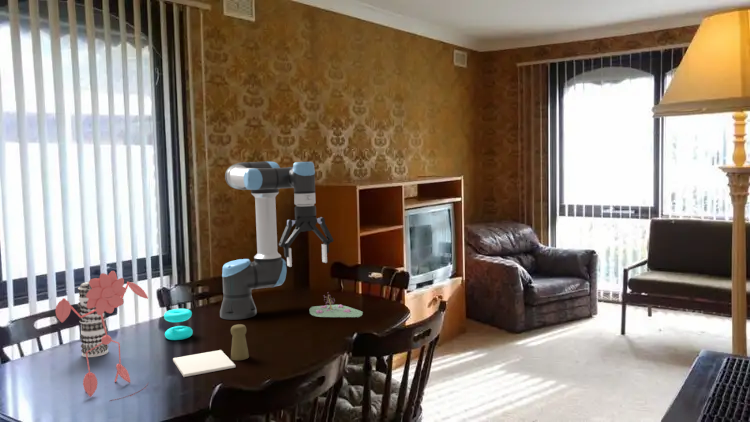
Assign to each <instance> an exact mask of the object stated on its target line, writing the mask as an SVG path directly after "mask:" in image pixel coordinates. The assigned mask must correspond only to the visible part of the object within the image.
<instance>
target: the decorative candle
mask: <svg viewBox="0 0 750 422" xmlns="http://www.w3.org/2000/svg"><path fill="white" fill-rule="evenodd" d="M77 289H78V295H79V296H78V301H79V302H78V303H77V305H76V306H77V307H78V308H77V312H78V313H79V314H80V315H81V316H83V315H85V314H87V313H89V312H91V311H93V310H95V309H96V306H95V307H93V308H91V309H88V308H87V301H88V299H89V298H86V294H87V293H88V291H89V290H91V289H92V288H91V286H90V285H89V281H84V282H82V283H81V284H80V286H79V287H77ZM106 313H107V312H106V311H104V313H103V314H102V315H103V319H104V323H105V324H106V320H107V316H106ZM78 321H79V323H80V324H81V325H80V327H81V330H80V333H81V335H80V336H79V337H80V338H81V339H80V342H81V343H82V344H81V345H80V348H81V350H80V351H81V356H82V357H84V358H86V352H87V351H89V350H90V349H92V348H94V347H95V346H97V345H99V344H100V343H102V342H101V339H102V337H103V336H105V335H106V334H105V330H104V327H103V324H102V320H101V315H98V314H97V311H95V312H93V313H91V314H89V315H87V316H85V317H83V318H81V317H79V319H78ZM108 353H109V345H108V344H107V345H105V344H101V345H99V346H98V347H96V348H94V349H93V350H91V351H89V352H88V353H87V355H88V358H97V357H100V356H103V355H106V354H108Z"/></svg>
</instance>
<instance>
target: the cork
mask: <svg viewBox="0 0 750 422" xmlns="http://www.w3.org/2000/svg"><path fill="white" fill-rule="evenodd" d="M230 334H231V335H232V339H231V348H230V349H231V350H230V360H231V361H244V360H247V359H248V358H249V357H250V355H249V349H248V343H247V338H246V334H247V327H246V325H245V324H241V323H240V324H239V323H238V324H234V325H232V326H231V327H230Z"/></svg>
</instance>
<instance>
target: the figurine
mask: <svg viewBox="0 0 750 422" xmlns="http://www.w3.org/2000/svg"><path fill="white" fill-rule="evenodd" d="M88 282H89V285H90V286H91V288H92V289H91V290H89V291H88V293H87V294H86V298H89V299H88V301H87V308H88V309H91V308H93V307H95V306H96V309H95V310H93V311H91V312H89V313H87V314H85V315H83V316H81V315H80V314H79V313H80V312H79V311H78V310H77V309H75V308H74V307H73V305H71V304H70V301H68V299H66V298H62V300H60V301H59V302H58V303H57V304H56V306H55V317H56V318H57V319H58V320H59V322H61V323H64V322H65V321H66V320H67V319H68V317H69V316H70V314H71V311H73V312H74V314H76V315H77V317H79V318H80V317H81V318H83V317H85V316H87V315H89V314H91V313H93V312H95V311H97V314H98V315H101V320H102V324H103V327H104V330H105V334H106V335H105V336H103V337H102V339H101V342H102V343H100V344H99V345H101V344H105V345H107V346H108V345H109V344H111V342H112V343H115V344H118V359H119V360H118V361H119V362H118V363H116V366H115V369H116V375H115V379H114V383H116V382H117V380H118V378H119V377H120V378H121V379H123V380H124V381H125V382H127V383H131V378H130V374H129V371H128V370H127V368H126V367H125V366H123V365H122V361H121V345H120V344H121V343H120V342H119V341H116V340H113V339H112V336H110V335H108V332H107V326H106V322H105V323H104V319H103V315H102V314H103V313H104V311H106V313H107V314H112V313H113V312H114V310H115V308H119V307H121V306H123V304H124V296H125V294H126V293H127V290H128V287H129V288H130V289H131V291H132V292H133V293H134V294H135V295H137V296H139V297H140V298H144V299H147V300H148V299H149V297H148V295H147V293H146V292H145V290H143V288H142V287H141V286H139V285H138V284H136V283H135V282H131V281H126V286H124V285H125V284H124V283H125V279H124V277H120V278H118V277H117V273H116V272H115V270H111V271H110V272H109V273H108V274H106V273H104V272H103V273H100V275H99V277H98V278H97V277H95V278H90V279H89V280H88ZM104 314H105V313H104ZM99 345H97V346H95V347H94V348H96V347H98V346H99ZM94 348H92V349H90V350H89V351H91V350H93V349H94ZM89 351H87V352H86V357H85V358H86V362H87V370H88V372H87V373H85V375H84V376H83V377H84V378H83V381H82V382H83V383H82V385H83V388H84V391H85V393H86V394H87V395H88V396H89V397H90V398H91V397H92V396H94V393H95V392H96V390H97V388H98V379H97V376H96V374H95V373H93V372H92V371H91V368H90V362H89V357H88V355H87V353H88V352H89ZM148 384H149V383H147V384H146V385H145V386H144V387H143V388H142V389H140V390H138V391H137V392H136V391H135V392H134V393H131V394H129V395H126V396H123V397H119V398H114V399H110V400H109V402H111V401H116V400H119V399H124V398H126V397H127V398H128V397H129V396H130V397H132V396H133V395H135V394H137V393H139V392H141V391H142V390H144V389H146V387H147V386H148Z"/></svg>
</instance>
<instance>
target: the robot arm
mask: <svg viewBox="0 0 750 422" xmlns="http://www.w3.org/2000/svg"><path fill="white" fill-rule="evenodd" d="M224 179H225V182H226V184H227V185H228V186H229V187H230V188H233V189H235V190H240V191H241V190H242V191H245V190H246V191H250V194H251V195H252V196H253V197H254V201H255V206H254V207H255V227H256V251H257V253H256V254H255V255H254V256H253V261H251V260H250V259H249V258H243V259H242V258H239V259H236V260H231V261H228V262H225V263H224V264H223V266H222V270H221V272H222V274H221V277H222V293H223V300H222V302H221V307H220V309H219V318H221V319H223V320H230V321H232V320H235V321H237V320H245V319H249V318H253V317H255V316H257V313H258V312H257V307H256V304H255V301H254V299H253V296H252V290H257V289H265V288H266V289H267V288H275V287H279V286H282V285H283V284H284V283H285V281H286V277H287V269H288V268H287V267H289V268H291V267H292V266H293V264H292V263H293V258H292V257H293V256H292V248H291V247H290V246H291V245H292V244H293V242H294V241H295V239H296V238H297V237H298V236H299V234H300V233H301V232H311V231H312V232H313V233H314V234H315V235H316V236H317V237H318V238H319V239H320V241H321V242H322V243H321V262H322V263H325V264H327V263H328V253H329V252H330V248H329V247H330V244H331V243H333V242H334V238H333V236H332V234H331V232H330V230H329V228H328V225H327V224H326V220H325V219H326V218H325V217H322V216H319V217H318V218H317V207H316V205H315V204H316V171H315V163H314V162H313V161H295V162H294V163H293V165H292V166H289V167H280V165H279V164H278V163H277V162H275V161H266V160H265V161H248V162H247V161H245V162H243V161H241V162H237V163H233V164H232V165H231V166H229V167H227V169H226V170H225V174H224ZM280 189H293V193H294V194H293V195H294V196H293V197H294V199H293V200H294V202H293V203H294V205H295V207H294V219H292V220H291V219H287V220H286V225H285V228H284V231H283V232H282V234H281V238H280V240H279V242H278V234H277V233H278V231H277V230H278V229H277V209H276V207H277V206H276V204H277V202H276V197H277V195H279V193H280V191H279V190H280ZM317 224H319V225H320V228H321V230H322V232H323V233H322V232H321V231H320V230H319V228H318V227H317V226H316V225H317ZM294 225H295V228H294V229H293V231H292V232H291V230H292V227H293V226H294ZM290 233H291V234H290ZM289 234H290V235H289ZM323 234H324V235H323ZM278 246H279V247H281V248H283V254H284V255H283V256H284V257H285V258H286V260H285V259H284V258H282V255H281V254H280V253H279V252H278Z"/></svg>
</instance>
